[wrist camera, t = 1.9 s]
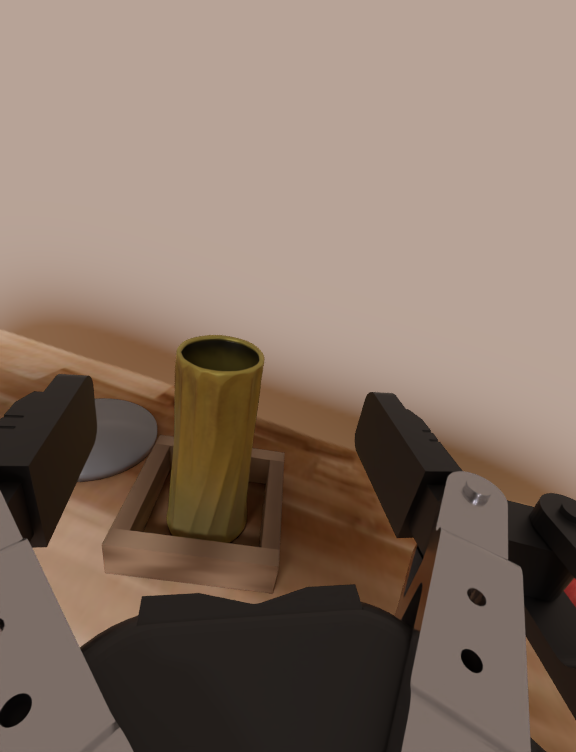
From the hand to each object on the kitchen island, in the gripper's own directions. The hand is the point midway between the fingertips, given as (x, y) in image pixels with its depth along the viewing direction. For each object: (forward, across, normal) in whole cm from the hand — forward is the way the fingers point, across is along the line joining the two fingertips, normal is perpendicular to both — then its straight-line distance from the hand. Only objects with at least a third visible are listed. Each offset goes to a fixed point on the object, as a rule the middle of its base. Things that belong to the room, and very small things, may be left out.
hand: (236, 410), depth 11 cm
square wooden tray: (+11, 0, +18) cm, 21 cm away
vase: (+11, 0, +18) cm, 21 cm away
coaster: (+20, +11, +18) cm, 29 cm away
